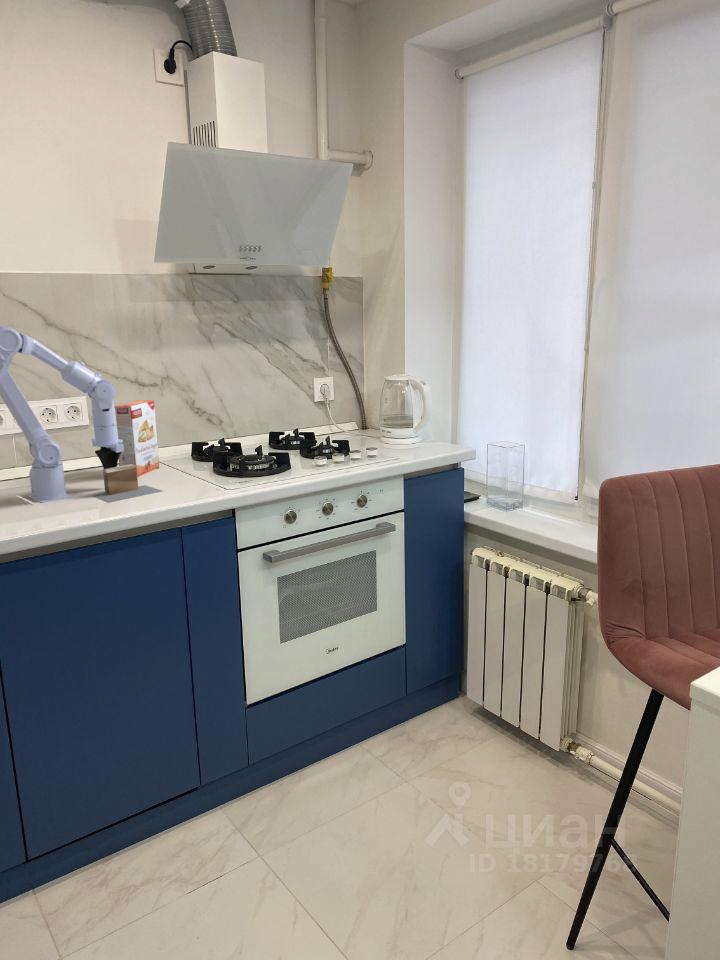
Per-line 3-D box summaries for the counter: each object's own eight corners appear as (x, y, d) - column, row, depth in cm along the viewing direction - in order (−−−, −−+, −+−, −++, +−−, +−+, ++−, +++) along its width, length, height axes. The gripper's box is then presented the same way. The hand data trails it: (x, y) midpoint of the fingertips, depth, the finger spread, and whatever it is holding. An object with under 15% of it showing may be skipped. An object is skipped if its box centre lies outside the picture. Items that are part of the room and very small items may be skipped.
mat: (91, 497, 186) (91, 495, 185) (145, 486, 196) (145, 485, 195) (108, 504, 178) (108, 502, 178) (163, 492, 189) (163, 491, 188)
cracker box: (138, 478, 205) (131, 405, 200) (119, 478, 207) (111, 405, 202) (161, 468, 219) (154, 399, 214) (143, 467, 220) (136, 399, 215)
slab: (105, 493, 187) (102, 469, 186) (134, 487, 193) (131, 464, 191) (109, 495, 186) (107, 470, 184) (138, 489, 191) (136, 465, 189)
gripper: (132, 425, 187) (137, 476, 190) (107, 420, 197) (113, 469, 200) (106, 429, 182) (112, 481, 185) (82, 424, 192) (88, 473, 196)
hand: (111, 475), depth 193 cm, fingers closed
